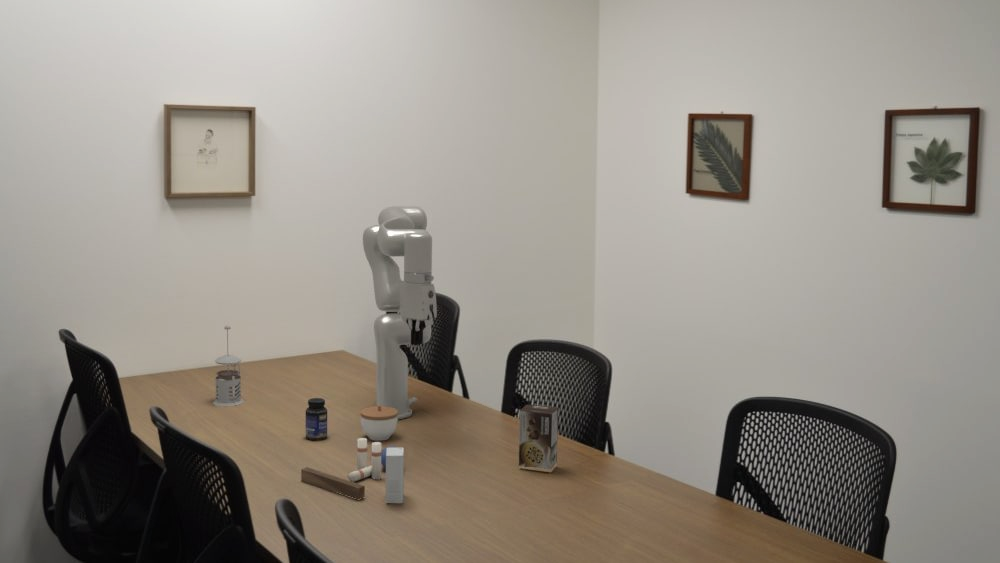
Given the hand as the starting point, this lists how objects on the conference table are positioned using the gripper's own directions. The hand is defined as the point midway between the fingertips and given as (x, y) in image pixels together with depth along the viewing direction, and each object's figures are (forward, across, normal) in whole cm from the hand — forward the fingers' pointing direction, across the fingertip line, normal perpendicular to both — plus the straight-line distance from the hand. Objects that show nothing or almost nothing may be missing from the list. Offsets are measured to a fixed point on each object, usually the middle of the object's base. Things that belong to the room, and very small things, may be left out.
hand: (416, 344), depth 265 cm
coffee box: (+29, -36, -8) cm, 47 cm away
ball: (+26, -8, +18) cm, 33 cm away
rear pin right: (+29, -4, +25) cm, 39 cm away
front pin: (+28, -7, +23) cm, 37 cm away
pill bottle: (+29, +26, +13) cm, 41 cm away
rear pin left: (+29, -10, +25) cm, 40 cm away
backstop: (+29, -7, +38) cm, 48 cm away
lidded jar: (+29, +13, +1) cm, 32 cm away
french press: (+29, +74, +6) cm, 80 cm away
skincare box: (+29, -23, +33) cm, 50 cm away
